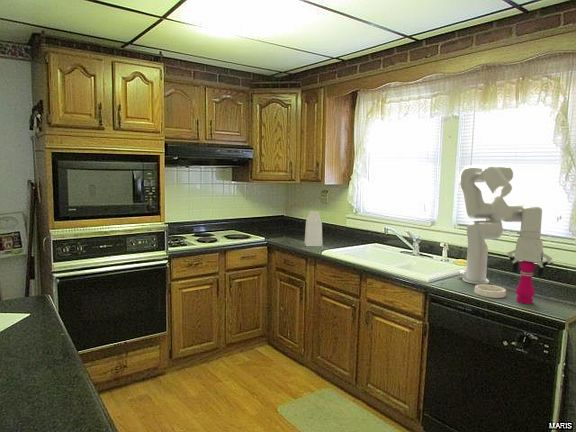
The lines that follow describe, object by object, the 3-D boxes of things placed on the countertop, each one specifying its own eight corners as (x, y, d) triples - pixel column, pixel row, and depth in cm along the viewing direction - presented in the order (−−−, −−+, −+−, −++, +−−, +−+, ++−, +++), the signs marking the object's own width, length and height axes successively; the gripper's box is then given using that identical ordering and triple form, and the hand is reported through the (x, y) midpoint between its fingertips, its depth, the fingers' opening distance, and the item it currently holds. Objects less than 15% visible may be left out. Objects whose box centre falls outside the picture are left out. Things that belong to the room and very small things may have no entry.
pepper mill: (521, 298, 186) (525, 254, 184) (537, 302, 180) (541, 258, 178) (511, 300, 183) (515, 256, 181) (527, 305, 177) (531, 259, 174)
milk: (320, 244, 310) (321, 210, 306) (322, 247, 298) (323, 212, 295) (304, 244, 309) (304, 210, 306) (305, 247, 297) (306, 212, 294)
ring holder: (469, 292, 193) (469, 287, 193) (481, 287, 202) (482, 282, 202) (498, 299, 183) (498, 294, 183) (510, 294, 192) (510, 288, 192)
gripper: (505, 233, 182) (503, 271, 184) (550, 238, 169) (547, 279, 171) (512, 232, 187) (510, 269, 188) (556, 236, 174) (553, 276, 175)
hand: (527, 274), depth 180 cm, fingers open, 9 cm apart
